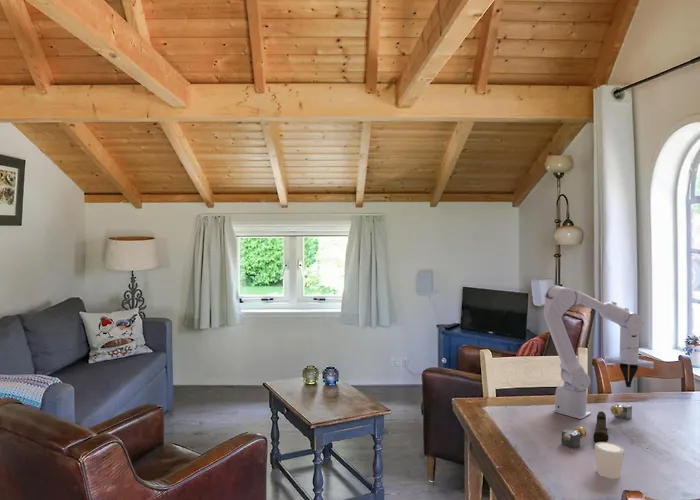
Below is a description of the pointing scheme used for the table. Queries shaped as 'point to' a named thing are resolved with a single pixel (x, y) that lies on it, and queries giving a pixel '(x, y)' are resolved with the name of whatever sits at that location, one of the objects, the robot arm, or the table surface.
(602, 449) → the cream cylinder
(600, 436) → the hand tool
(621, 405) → the grey block with knob
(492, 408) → the table surface
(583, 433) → the grey metal fitting
